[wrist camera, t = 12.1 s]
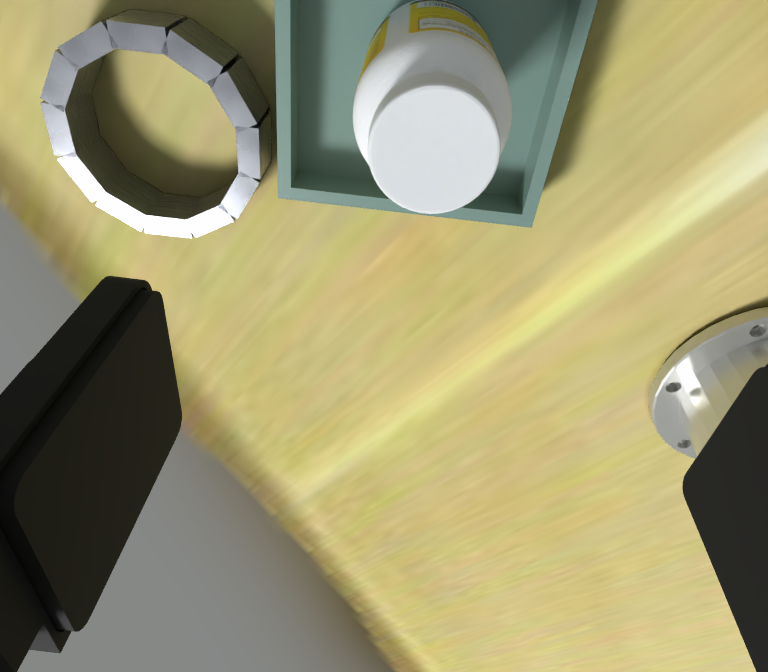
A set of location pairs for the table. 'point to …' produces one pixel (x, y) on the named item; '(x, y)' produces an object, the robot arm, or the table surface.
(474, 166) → the supplement bottle
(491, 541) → the table surface
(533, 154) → the tray
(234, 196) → the collar
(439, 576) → the table surface
